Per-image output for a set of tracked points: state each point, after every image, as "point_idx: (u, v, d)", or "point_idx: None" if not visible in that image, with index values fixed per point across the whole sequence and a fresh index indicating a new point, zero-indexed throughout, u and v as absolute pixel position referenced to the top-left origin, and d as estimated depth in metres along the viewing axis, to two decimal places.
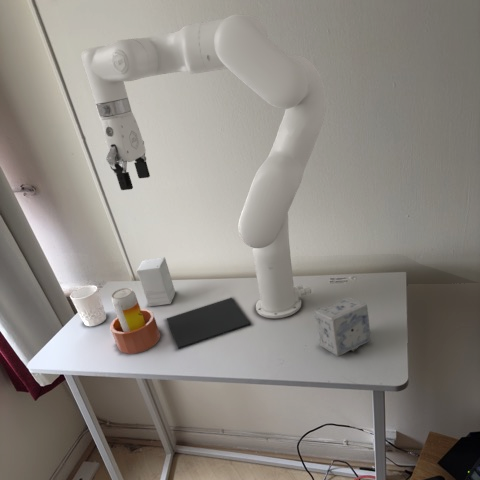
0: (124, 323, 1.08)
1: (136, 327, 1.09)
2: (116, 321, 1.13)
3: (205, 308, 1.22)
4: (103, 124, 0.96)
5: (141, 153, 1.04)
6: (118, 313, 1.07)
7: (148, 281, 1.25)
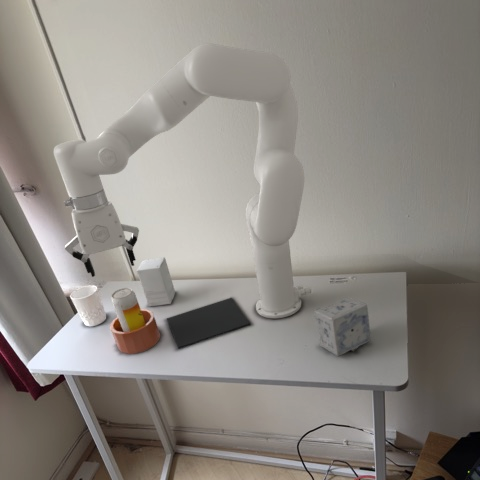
0: (124, 323, 1.08)
1: (136, 327, 1.09)
2: (116, 321, 1.13)
3: (205, 308, 1.22)
4: None
5: (112, 246, 0.98)
6: (118, 313, 1.07)
7: (148, 281, 1.25)
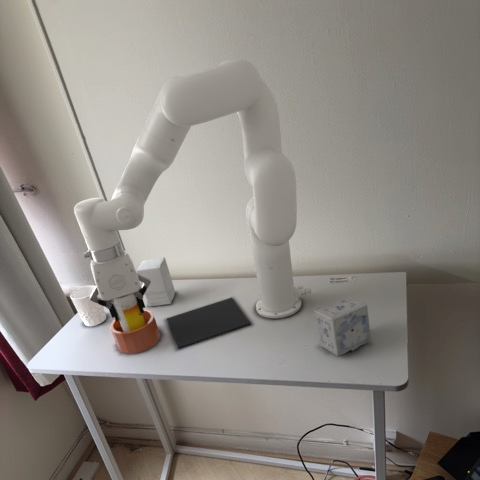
0: (124, 323, 1.08)
1: (136, 327, 1.09)
2: (116, 321, 1.13)
3: (205, 308, 1.22)
4: None
5: (128, 292, 1.04)
6: (118, 313, 1.07)
7: None
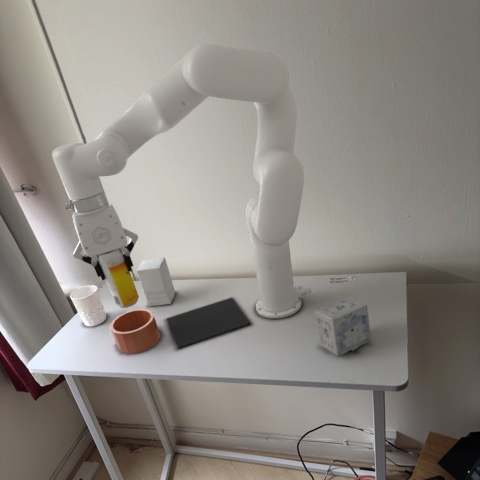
0: (111, 282, 1.02)
1: (124, 287, 1.03)
2: (116, 321, 1.13)
3: (205, 308, 1.22)
4: None
5: (114, 247, 0.98)
6: (104, 271, 1.00)
7: (148, 281, 1.25)
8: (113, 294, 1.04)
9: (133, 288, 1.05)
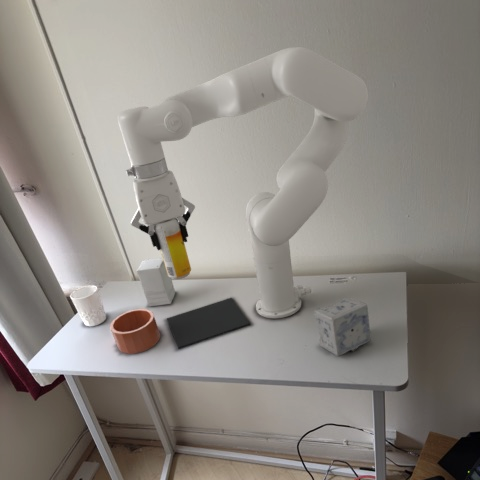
0: (167, 252, 1.01)
1: (179, 257, 1.02)
2: (116, 321, 1.13)
3: (205, 308, 1.22)
4: None
5: (172, 216, 0.97)
6: (160, 240, 1.00)
7: (148, 281, 1.25)
8: (167, 265, 1.03)
9: (187, 259, 1.04)
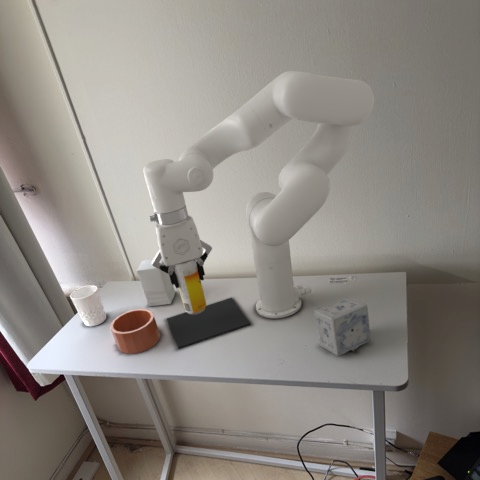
0: (185, 290, 1.07)
1: (196, 294, 1.08)
2: (116, 321, 1.13)
3: (205, 308, 1.22)
4: None
5: (191, 257, 1.03)
6: (179, 279, 1.06)
7: (148, 281, 1.25)
8: (184, 301, 1.09)
9: (203, 296, 1.10)
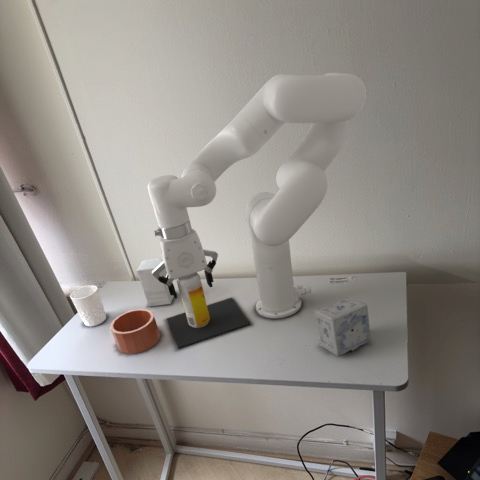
0: (189, 304, 1.09)
1: (200, 309, 1.10)
2: (116, 321, 1.13)
3: None
4: None
5: (195, 270, 1.05)
6: (183, 295, 1.08)
7: (148, 281, 1.25)
8: (188, 315, 1.12)
9: (206, 310, 1.13)
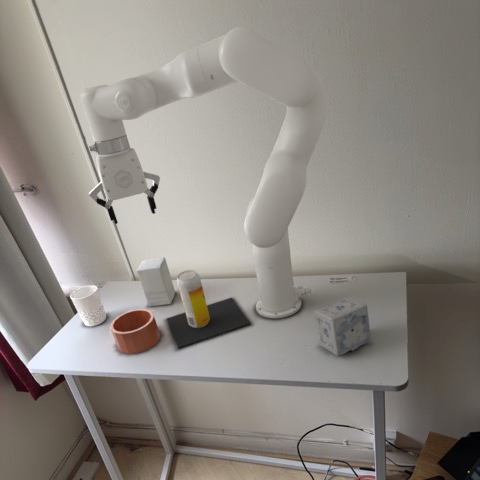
0: (189, 304, 1.09)
1: (200, 309, 1.10)
2: (116, 321, 1.13)
3: None
4: None
5: (135, 192, 1.01)
6: (183, 295, 1.08)
7: (148, 281, 1.25)
8: (188, 315, 1.12)
9: (206, 310, 1.13)
